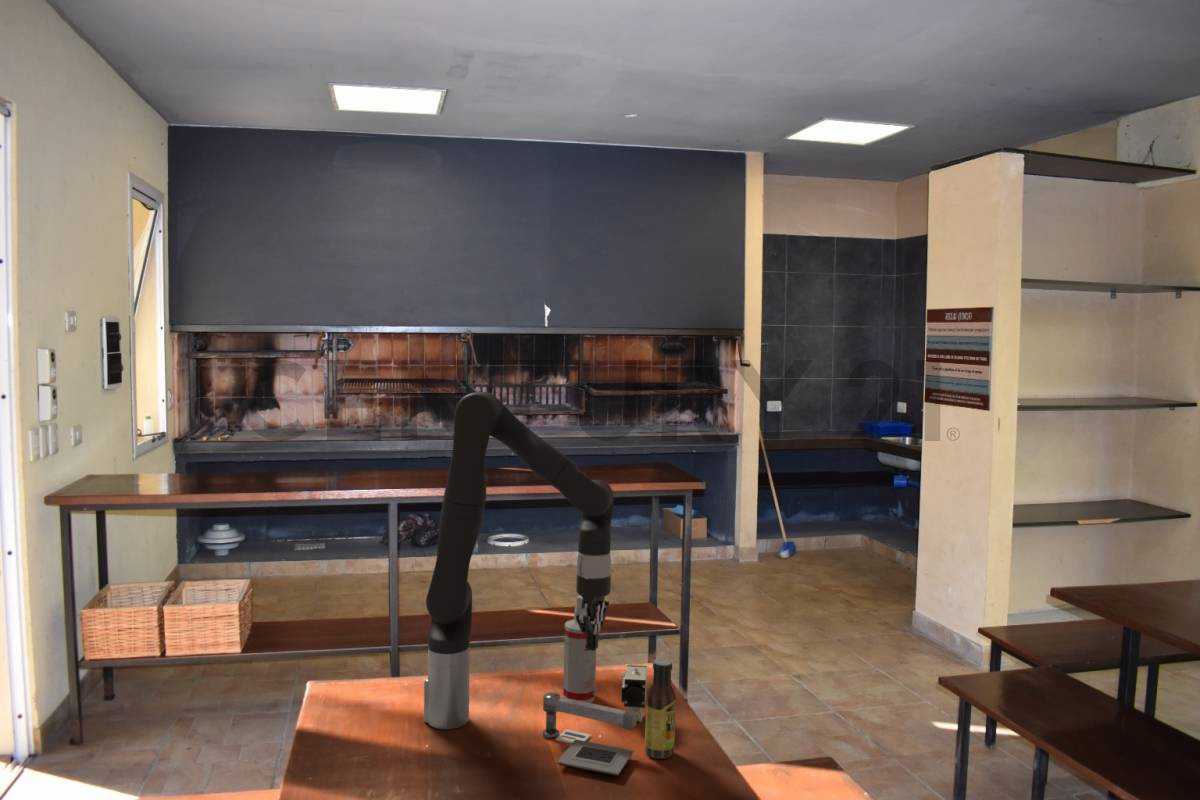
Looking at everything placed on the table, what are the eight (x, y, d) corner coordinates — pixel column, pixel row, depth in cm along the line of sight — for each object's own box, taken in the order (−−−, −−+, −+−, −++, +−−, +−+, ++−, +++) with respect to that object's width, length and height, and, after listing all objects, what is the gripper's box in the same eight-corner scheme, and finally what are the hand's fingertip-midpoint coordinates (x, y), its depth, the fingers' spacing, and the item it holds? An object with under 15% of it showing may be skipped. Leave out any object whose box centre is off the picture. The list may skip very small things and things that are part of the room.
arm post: (539, 737, 196) (540, 712, 196) (547, 730, 199) (547, 705, 199) (554, 740, 195) (554, 715, 194) (561, 733, 198) (562, 708, 197)
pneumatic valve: (645, 708, 212) (647, 659, 211) (644, 730, 200) (645, 678, 199) (622, 707, 212) (623, 658, 211) (619, 729, 201) (620, 677, 200)
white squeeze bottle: (567, 689, 222) (568, 591, 220) (596, 692, 221) (598, 592, 218) (561, 703, 214) (563, 600, 212) (592, 705, 213) (594, 602, 211)
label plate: (555, 740, 195) (556, 738, 195) (566, 730, 199) (566, 728, 199) (580, 746, 192) (580, 743, 192) (590, 736, 197) (590, 734, 197)
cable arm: (540, 710, 195) (540, 697, 195) (547, 704, 199) (548, 691, 199) (630, 730, 187) (631, 716, 187) (637, 723, 190) (637, 710, 190)
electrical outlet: (633, 759, 188) (634, 748, 188) (618, 783, 178) (618, 771, 178) (575, 748, 192) (575, 738, 192) (556, 771, 182) (556, 760, 182)
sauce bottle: (670, 763, 186) (673, 669, 184) (641, 758, 188) (643, 665, 186) (677, 749, 192) (680, 658, 190) (648, 744, 194) (651, 655, 192)
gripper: (590, 562, 204) (589, 637, 205) (565, 577, 192) (563, 656, 193) (621, 567, 201) (619, 642, 202) (597, 582, 188) (595, 662, 190)
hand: (592, 649), depth 197 cm, fingers closed
